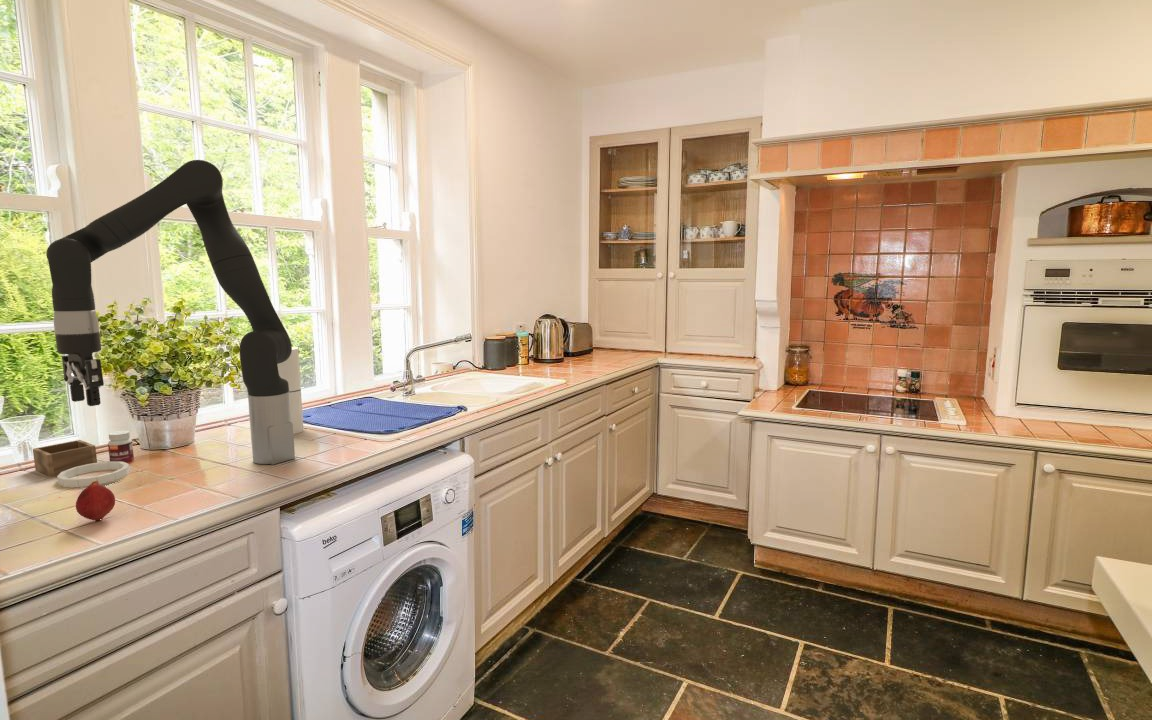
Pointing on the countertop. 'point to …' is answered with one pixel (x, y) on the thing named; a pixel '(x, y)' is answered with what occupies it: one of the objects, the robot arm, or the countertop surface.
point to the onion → (95, 501)
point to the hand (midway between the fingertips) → (86, 403)
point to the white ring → (67, 481)
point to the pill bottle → (120, 447)
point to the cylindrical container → (293, 388)
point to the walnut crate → (63, 457)
